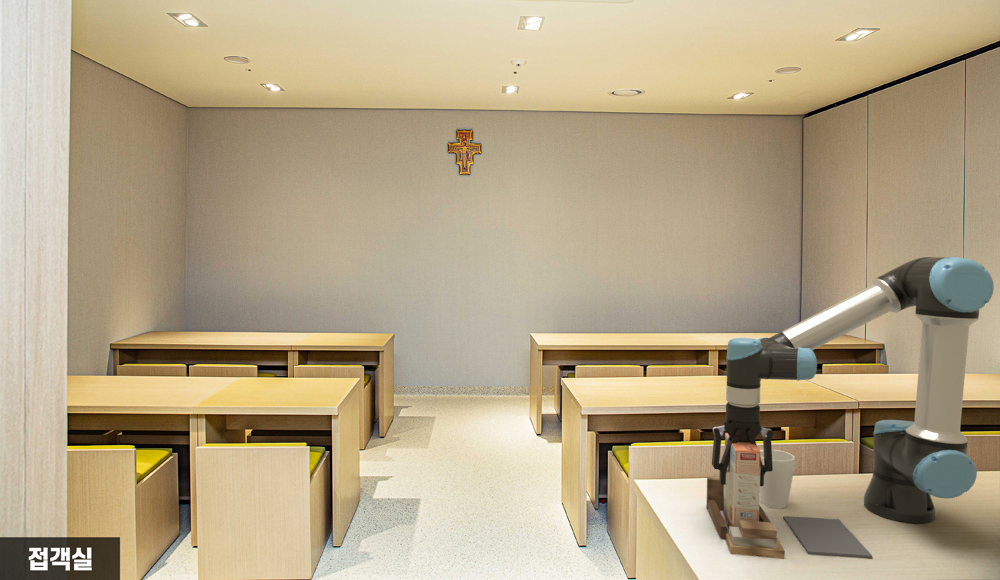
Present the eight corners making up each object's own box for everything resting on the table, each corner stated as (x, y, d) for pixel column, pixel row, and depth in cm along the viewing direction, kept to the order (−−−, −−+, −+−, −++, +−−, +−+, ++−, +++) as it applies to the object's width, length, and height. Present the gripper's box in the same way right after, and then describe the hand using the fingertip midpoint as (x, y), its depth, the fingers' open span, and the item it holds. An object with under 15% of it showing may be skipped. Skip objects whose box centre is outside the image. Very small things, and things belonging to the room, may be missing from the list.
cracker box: (760, 540, 138) (762, 451, 137) (732, 538, 140) (734, 449, 138) (748, 514, 152) (749, 432, 151) (722, 512, 153) (724, 431, 152)
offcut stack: (777, 546, 136) (778, 520, 136) (784, 559, 130) (785, 532, 130) (726, 542, 138) (726, 516, 138) (730, 555, 133) (731, 528, 132)
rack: (755, 510, 155) (755, 479, 154) (775, 542, 138) (776, 508, 137) (706, 507, 157) (707, 477, 156) (720, 538, 139) (721, 505, 139)
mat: (838, 521, 148) (838, 519, 148) (872, 558, 130) (872, 555, 130) (782, 518, 150) (782, 515, 150) (808, 554, 132) (808, 551, 132)
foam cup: (793, 500, 161) (795, 452, 160) (794, 513, 153) (795, 463, 152) (755, 494, 165) (756, 447, 164) (753, 507, 157) (755, 458, 156)
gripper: (780, 400, 146) (778, 494, 148) (698, 398, 149) (697, 489, 150) (790, 408, 139) (788, 506, 140) (704, 406, 142) (702, 502, 143)
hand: (741, 497), depth 145 cm, fingers closed on cracker box, 6 cm apart
